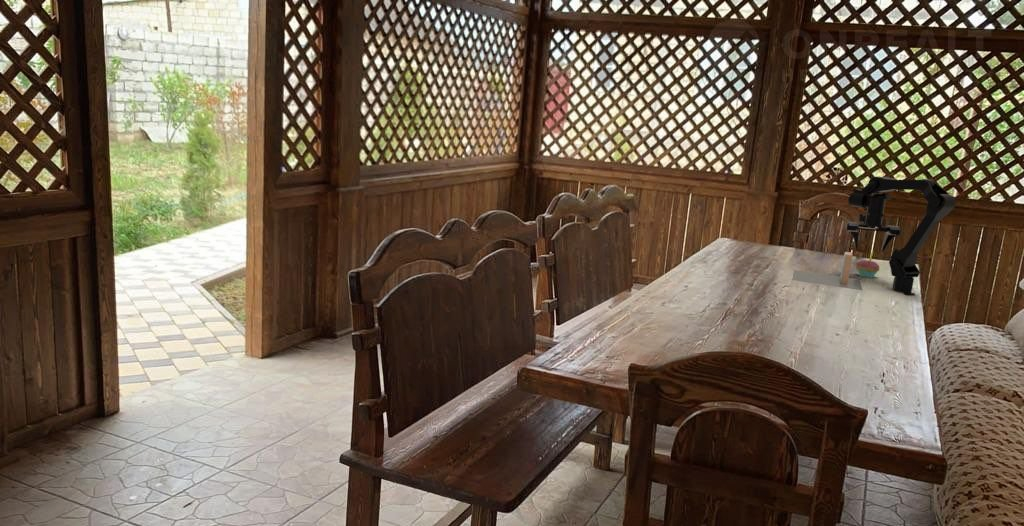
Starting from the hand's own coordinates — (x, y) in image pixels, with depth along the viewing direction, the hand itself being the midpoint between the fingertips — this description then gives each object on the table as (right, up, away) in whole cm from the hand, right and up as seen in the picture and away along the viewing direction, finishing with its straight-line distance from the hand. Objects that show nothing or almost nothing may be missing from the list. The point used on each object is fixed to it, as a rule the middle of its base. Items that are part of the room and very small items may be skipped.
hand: (868, 250), depth 282 cm
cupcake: (+4, -11, +10) cm, 15 cm away
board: (-17, -12, -2) cm, 21 cm away
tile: (-11, -12, -4) cm, 17 cm away
